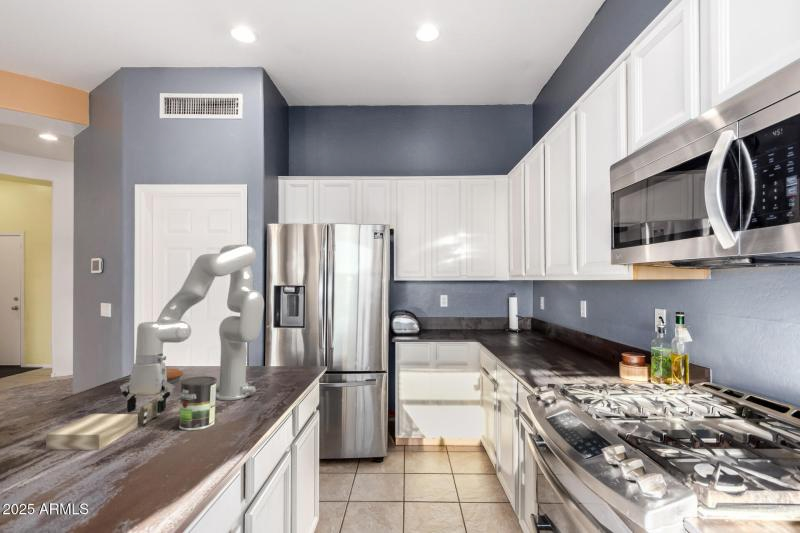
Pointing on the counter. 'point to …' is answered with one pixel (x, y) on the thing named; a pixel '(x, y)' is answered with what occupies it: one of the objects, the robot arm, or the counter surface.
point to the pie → (173, 375)
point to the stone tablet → (148, 411)
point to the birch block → (92, 432)
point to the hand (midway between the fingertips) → (146, 411)
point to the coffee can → (197, 403)
